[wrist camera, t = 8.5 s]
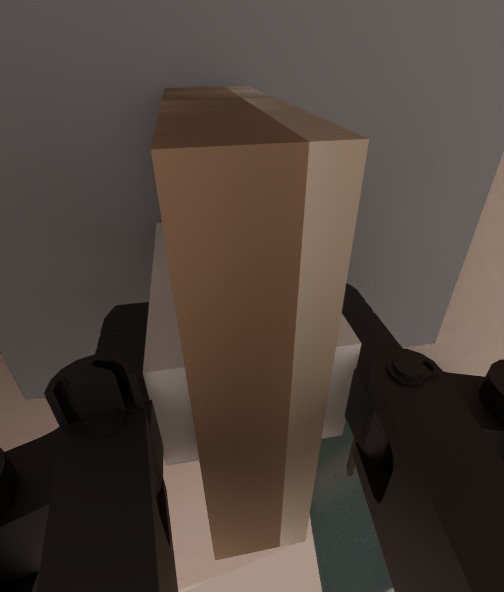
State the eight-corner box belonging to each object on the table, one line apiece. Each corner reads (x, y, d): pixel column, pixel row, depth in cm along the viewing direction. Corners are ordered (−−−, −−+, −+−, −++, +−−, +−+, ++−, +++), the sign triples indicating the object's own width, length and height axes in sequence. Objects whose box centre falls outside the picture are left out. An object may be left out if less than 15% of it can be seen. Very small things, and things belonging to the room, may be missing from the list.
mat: (29, 389, 17) (25, 399, 16) (-234, -126, 8) (-262, -138, 7) (427, 335, 20) (434, 343, 19) (571, -86, 11) (590, -93, 10)
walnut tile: (197, 351, 16) (215, 560, 9) (164, 88, 10) (150, 149, 4) (251, 344, 16) (305, 541, 10) (247, 85, 11) (369, 139, 4)
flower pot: (360, 473, 27) (432, 634, 19) (273, 441, 22) (323, 630, 15) (459, 401, 24) (588, 558, 16) (381, 348, 19) (507, 526, 12)
